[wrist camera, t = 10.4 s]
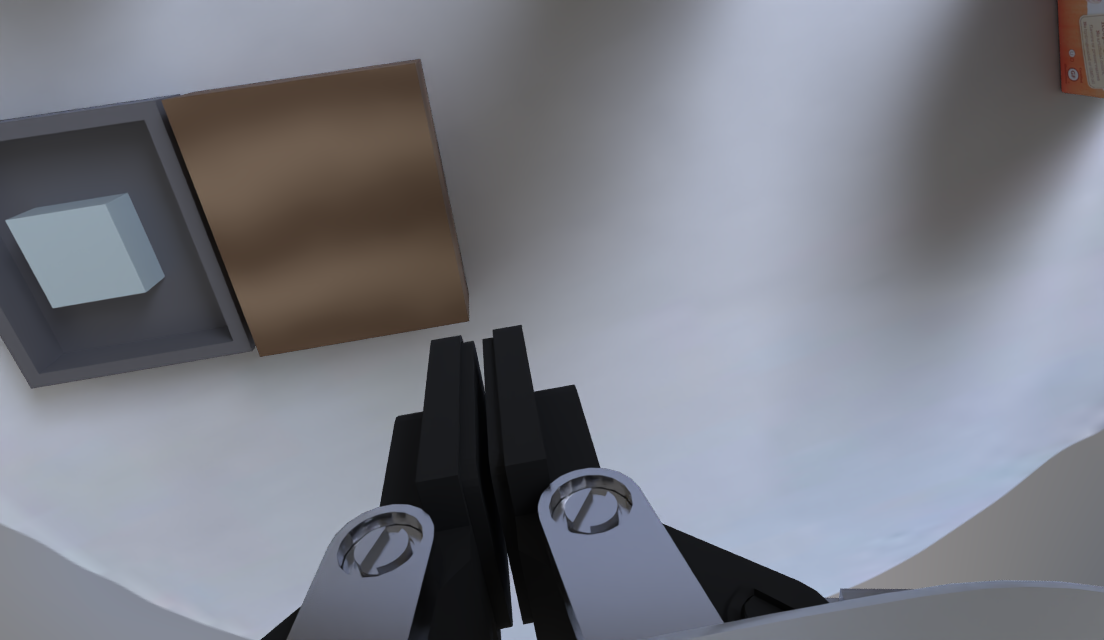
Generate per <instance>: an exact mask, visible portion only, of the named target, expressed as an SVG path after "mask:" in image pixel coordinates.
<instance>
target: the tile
mask: <svg viewBox="0 0 1104 640" xmlns="http://www.w3.org/2000/svg"><path fill="white" fill-rule="evenodd" d="M5 221H6V223H7V225H8V227H9V229H10V230H11V232H12V234H13V236H14V238H15V240H16V242H17V243H18V245H19V247H20V249H21V251H22V253H23V254H24V256H25V258H26V260H27V262H28V264H29V265H30V267H31V269H32V271H33V273H34V275H35V276H36V278H37V280H38V282H39V284H40V286H41V288H42V289H43V291H44V293H45V295H46V297H47V299H48V300H49V302H50V304H51V306H52V308H58V307H63V306H69V305H75V304H81V303H87V302H93V301H99V300H104V299H110V298H116V297H122V296H128V295H134V294H140V293H145V292H147V291H148V290H150V289H151V288H152V287H153V286H154V285H156V284H157V283H158V282H159V281H160V280H162V279H163V278H164V277H165V275H164V273H163V271H162V269H161V266H160V264H159V262H158V260H157V257H156V255H155V253H154V251H153V248H152V246H151V244H150V241H149V239H148V237H147V235H146V232H145V230H144V228H143V226H142V223H141V221H140V219H139V217H138V214H137V212H136V210H135V208H134V205H133V203H132V201H131V199H130V196H129V194H128V193H124V194H117V195H111V196H105V197H99V198H93V199H87V200H80V201H74V202H68V203H62V204H56V205H50V206H43V207H37V208H33V209H31V210H28V211H26V212H24V213H21V214H19V215H17V216H14V217H12V218H9V219H7V220H5Z"/></svg>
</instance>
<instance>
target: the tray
mask: <svg viewBox="0 0 1104 640" xmlns="http://www.w3.org/2000/svg"><path fill="white" fill-rule="evenodd" d="M176 96H180V94H177V95H171V96H164V97H157V98H150V99H143V100H136V101H130V102H123V103H116V104H109V105H102V106H95V107H89V108H82V109H75V110H68V111H61V112H54V113H48V114H41V115H34V116H27V117H20V118H13V119H7V120H0V336H1V338H2V339H3V341H4V343H5V345H6V346H7V348H8V350H9V351H10V353H11V355H12V356H13V358H14V360H15V362H16V363H17V365H18V367H19V368H20V370H21V372H22V373H23V375H24V377H25V379H26V380H27V382H28V384H29V385H30V387H31V389H32V388H37V387H43V386H49V385H55V384H61V383H67V382H73V381H79V380H84V379H90V378H96V377H102V376H108V375H114V374H120V373H126V372H131V371H137V370H143V369H149V368H155V367H161V366H167V365H173V364H178V363H184V362H190V361H196V360H202V359H208V358H214V357H220V356H225V355H231V354H237V353H243V352H249V351H253V349H254V348H255V346H256V345H255V342H254V339H253V337H252V334H251V332H250V329H249V326H248V324H247V321H246V319H245V316H244V314H243V311H242V308H241V306H240V303H239V301H238V298H237V295H236V293H235V290H234V288H233V285H232V282H231V280H230V277H229V275H228V272H227V269H226V267H225V264H224V262H223V259H222V257H221V254H220V251H219V249H218V246H217V244H216V241H215V238H214V236H213V233H212V231H211V228H210V225H209V223H208V220H207V218H206V215H205V212H204V210H203V207H202V205H201V202H200V200H199V197H198V194H197V192H196V189H195V187H194V184H193V181H192V179H191V176H190V174H189V171H188V168H187V166H186V163H185V161H184V158H183V155H182V153H181V150H180V148H179V145H178V143H177V140H176V137H175V135H174V132H173V130H172V127H171V124H170V122H169V119H168V117H167V114H166V111H165V109H164V106H163V104H162V101H161V100H164V99H168V98H172V97H176ZM124 193H128V194H129V196H130V199H131V201H132V203H133V205H134V208H135V210H136V212H137V214H138V217H139V219H140V221H141V223H142V226H143V228H144V230H145V232H146V235H147V237H148V239H149V241H150V244H151V246H152V248H153V251H154V253H155V255H156V257H157V260H158V262H159V264H160V266H161V269H162V271H163V273H164V275H165V277H164V278H163V279H162V280H160V281H159V282H158V283H157V284H156V285H154V286H153V287H152V288H151V289H150V290H148V291H147V292H145V293H140V294H134V295H128V296H122V297H116V298H110V299H104V300H99V301H93V302H87V303H81V304H75V305H69V306H63V307H58V308H52V306H51V304H50V302H49V300H48V299H47V297H46V295H45V293H44V291H43V289H42V288H41V286H40V284H39V282H38V280H37V278H36V276H35V275H34V273H33V271H32V269H31V267H30V265H29V264H28V262H27V260H26V258H25V256H24V254H23V253H22V251H21V249H20V247H19V245H18V243H17V242H16V240H15V238H14V236H13V234H12V232H11V230H10V229H9V227H8V225H7V223H6V221H5V220H7V219H9V218H12V217H14V216H17V215H19V214H21V213H24V212H26V211H28V210H31V209H33V208H37V207H43V206H50V205H56V204H62V203H68V202H74V201H80V200H87V199H93V198H99V197H105V196H111V195H117V194H124Z"/></svg>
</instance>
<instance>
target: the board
mask: <svg viewBox="0 0 1104 640" xmlns="http://www.w3.org/2000/svg"><path fill="white" fill-rule="evenodd" d="M161 101H162V104H163V106H164V109H165V111H166V114H167V117H168V119H169V122H170V124H171V127H172V130H173V132H174V135H175V137H176V140H177V143H178V145H179V148H180V150H181V153H182V155H183V158H184V161H185V163H186V166H187V168H188V171H189V174H190V176H191V179H192V181H193V184H194V187H195V189H196V192H197V194H198V197H199V200H200V202H201V205H202V207H203V210H204V212H205V215H206V218H207V220H208V223H209V225H210V228H211V231H212V233H213V236H214V238H215V241H216V244H217V246H218V249H219V251H220V254H221V257H222V259H223V262H224V264H225V267H226V269H227V272H228V275H229V277H230V280H231V282H232V285H233V288H234V290H235V293H236V295H237V298H238V301H239V303H240V306H241V308H242V311H243V314H244V316H245V319H246V321H247V324H248V326H249V329H250V332H251V334H252V337H253V339H254V342H255V345H256V347H257V350H258V352H259V355H260V357H262V356H268V355H274V354H280V353H286V352H292V351H298V350H303V349H309V348H315V347H321V346H327V345H333V344H339V343H344V342H350V341H356V340H362V339H368V338H374V337H380V336H385V335H391V334H397V333H403V332H409V331H415V330H420V329H426V328H432V327H438V326H444V325H450V324H456V323H461V322H467V321H469V293H468V288H467V283H466V278H465V274H464V269H463V264H462V259H461V254H460V249H459V244H458V239H457V235H456V230H455V225H454V220H453V215H452V210H451V205H450V201H449V196H448V191H447V186H446V181H445V176H444V171H443V166H442V162H441V157H440V152H439V147H438V142H437V137H436V132H435V128H434V123H433V118H432V113H431V108H430V103H429V98H428V93H427V89H426V84H425V79H424V74H423V69H422V64H421V59H417V60H410V61H403V62H396V63H389V64H382V65H376V66H369V67H362V68H355V69H348V70H341V71H335V72H328V73H321V74H314V75H307V76H300V77H294V78H287V79H280V80H273V81H266V82H259V83H253V84H246V85H239V86H232V87H225V88H218V89H212V90H205V91H198V92H192V93H188V94H184V95H180V96H176V97H172V98H168V99H164V100H161Z"/></svg>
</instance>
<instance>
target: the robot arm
mask: <svg viewBox="0 0 1104 640" xmlns="http://www.w3.org/2000/svg"><path fill="white" fill-rule="evenodd" d="M483 358H484V377H485V391H484V386H483V381H482V376H481V371H480V367H479V362H478V357H477V352H476V348H475V344H474V341H470V342H465V343H463V339H462V337H461V335H460V336H454V337H448V338H442V339H437V340H431V345H430V354H429V363H428V372H427V381H426V390H425V399H424V408H423V412H418V413H412V414H407V415H401V416H398V417H396V420H395V424H394V429H393V435H392V440H391V446H390V452H389V457H388V463H387V468H386V474H385V480H384V485H383V491H382V496H381V502H380V507H377V508H375V509H372V510H370V511H367V512H365V513H362V514H361V515H359V516H358V517H356V518H355V519H353V520H351V521H350V522H348V523H347V524H346V525H345V526H344V527H343V528H342V529H341V530H340V531H339V532H338V533H337V534H336V535H335V537H334V538H333V540H332V541H331V543H330V544H329V546H328V548H327V550H326V552H325V555H324V557H323V559H322V561H321V563H320V566H319V568H318V570H317V572H316V575H315V577H314V579H313V581H312V584H311V586H310V588H309V590H308V592H307V595H306V597H305V599H304V601H303V604H302V606H301V607H299V608H298V609H297V610H296V611H295V612H293V613H292V614H291V615H290V616H289V617H287V618H286V619H285V620H284V621H283V622H281V623H280V624H279V625H278V626H277V627H275V628H274V629H273V630H272V631H271V632H269V633H268V634H267V635H266V636H264V637H263V638H262V639H261V640H501V630H500V629H503V628H508V627H512V626H513V619H512V606H511V593H510V581H509V568H508V557H509V562H510V566H511V571H512V575H513V580H514V585H515V589H516V594H517V598H518V603H519V607H520V612H521V616H522V621H523V624H528V623H533V622H534V627H535V632H536V637H537V640H1104V587H1102V586H1093V585H1084V584H1077V583H1069V582H1060V581H1011V580H999V581H984V582H968V583H954V584H946V585H939V586H933V587H926V588H920V589H840V595H839V598H824V597H822V596H821V595H820V594H819V593H818V592H817V591H816V590H814V589H812V588H810V587H808V586H807V585H805V584H803V583H801V582H800V581H797V580H795V579H793V578H790V577H788V576H786V575H783V574H781V573H778V572H776V571H774V570H771V569H769V568H767V567H764V566H762V565H760V564H757V563H755V562H752V561H750V560H748V559H745V558H743V557H741V556H738V555H736V554H733V553H731V552H729V551H726V550H724V549H722V548H719V547H717V546H714V545H712V544H710V543H707V542H705V541H703V540H700V539H698V538H695V537H693V536H691V535H688V534H686V533H684V532H681V531H679V530H676V529H674V528H672V527H669V526H667V525H665V524H662V522H661V521H660V519H659V518H658V516H657V514H656V513H655V511H654V510H653V508H652V506H651V505H650V503H649V502H648V500H647V498H646V497H645V495H644V494H643V492H642V490H641V489H640V487H639V486H638V485H637V484H636V483H635V482H634V481H633V480H632V479H631V478H629V477H628V476H626V475H624V474H622V473H620V472H618V471H614V470H610V469H606V468H600V465H599V462H598V459H597V455H596V452H595V449H594V446H593V442H592V439H591V436H590V432H589V429H588V426H587V423H586V419H585V416H584V413H583V409H582V406H581V403H580V399H579V396H578V393H577V390H576V387H575V385H569V386H564V387H558V388H552V389H547V390H541V391H536V392H534V390H533V384H532V379H531V374H530V368H529V363H528V358H527V352H526V347H525V341H524V336H523V331H522V325H518V326H512V327H506V328H501V329H495V330H493V338H488V339H483ZM507 553H508V556H507Z"/></svg>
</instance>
